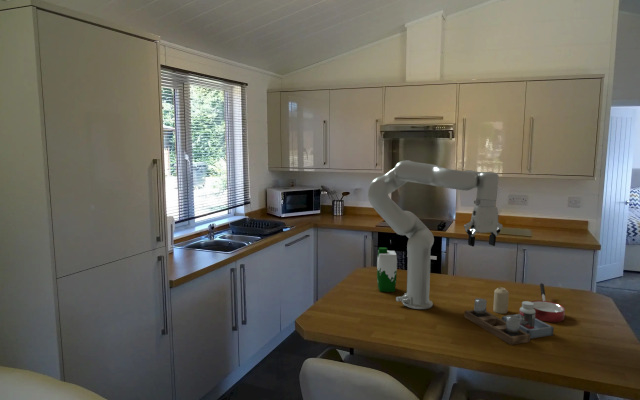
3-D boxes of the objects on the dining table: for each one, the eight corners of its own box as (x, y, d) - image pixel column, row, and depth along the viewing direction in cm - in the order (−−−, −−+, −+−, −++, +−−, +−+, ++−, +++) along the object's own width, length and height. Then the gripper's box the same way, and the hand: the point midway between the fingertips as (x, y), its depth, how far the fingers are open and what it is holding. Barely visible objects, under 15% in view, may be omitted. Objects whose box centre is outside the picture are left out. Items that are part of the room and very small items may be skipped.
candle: (508, 314, 183) (510, 290, 182) (494, 313, 185) (495, 289, 183) (506, 309, 189) (507, 286, 187) (492, 308, 190) (493, 285, 189)
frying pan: (519, 294, 208) (520, 281, 207) (550, 297, 204) (551, 284, 203) (530, 320, 177) (531, 305, 177) (567, 324, 174) (568, 308, 173)
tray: (528, 338, 160) (529, 330, 160) (501, 323, 174) (502, 316, 173) (553, 335, 164) (553, 327, 163) (524, 320, 177) (525, 313, 177)
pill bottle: (516, 328, 168) (518, 303, 167) (521, 324, 172) (522, 299, 171) (531, 332, 165) (533, 306, 164) (536, 327, 169) (537, 302, 168)
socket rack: (510, 344, 156) (511, 338, 155) (464, 316, 180) (464, 310, 180) (529, 341, 158) (530, 335, 158) (481, 314, 183) (481, 308, 182)
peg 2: (511, 342, 158) (512, 320, 157) (502, 336, 162) (503, 315, 161) (521, 340, 159) (522, 318, 158) (512, 335, 163) (513, 314, 162)
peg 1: (478, 322, 175) (479, 302, 174) (471, 318, 179) (472, 298, 178) (487, 321, 176) (489, 301, 175) (480, 317, 180) (481, 297, 179)
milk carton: (375, 286, 218) (376, 245, 215) (394, 286, 218) (395, 246, 215) (377, 292, 209) (378, 250, 207) (397, 292, 209) (398, 250, 206)
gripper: (472, 204, 173) (468, 248, 175) (510, 204, 178) (505, 247, 180) (461, 201, 180) (457, 243, 182) (498, 202, 185) (493, 242, 187)
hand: (481, 245), depth 181 cm, fingers open, 9 cm apart
